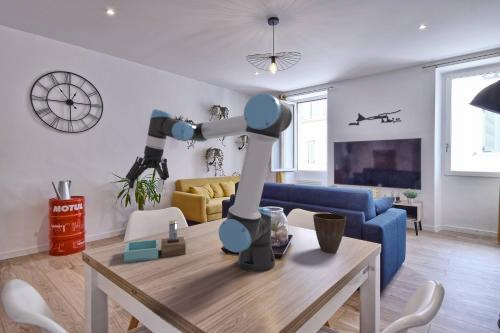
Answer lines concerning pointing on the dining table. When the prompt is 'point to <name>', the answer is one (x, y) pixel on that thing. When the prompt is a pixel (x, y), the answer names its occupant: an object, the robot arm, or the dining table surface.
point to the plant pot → (329, 230)
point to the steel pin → (172, 231)
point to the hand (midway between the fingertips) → (145, 194)
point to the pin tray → (141, 251)
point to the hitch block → (173, 247)
